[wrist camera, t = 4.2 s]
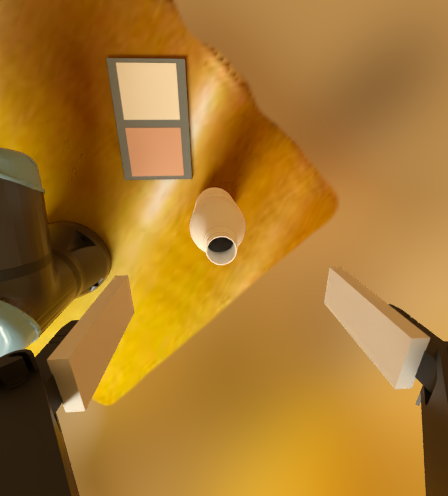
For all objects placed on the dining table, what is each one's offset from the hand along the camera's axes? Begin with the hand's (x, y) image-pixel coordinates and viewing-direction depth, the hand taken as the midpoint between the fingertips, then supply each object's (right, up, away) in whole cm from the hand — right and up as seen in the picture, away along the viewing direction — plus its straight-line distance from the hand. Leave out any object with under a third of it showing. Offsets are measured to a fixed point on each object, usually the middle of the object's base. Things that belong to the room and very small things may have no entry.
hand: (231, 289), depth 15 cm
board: (-12, +24, +25) cm, 36 cm away
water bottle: (-2, +11, +30) cm, 32 cm away
